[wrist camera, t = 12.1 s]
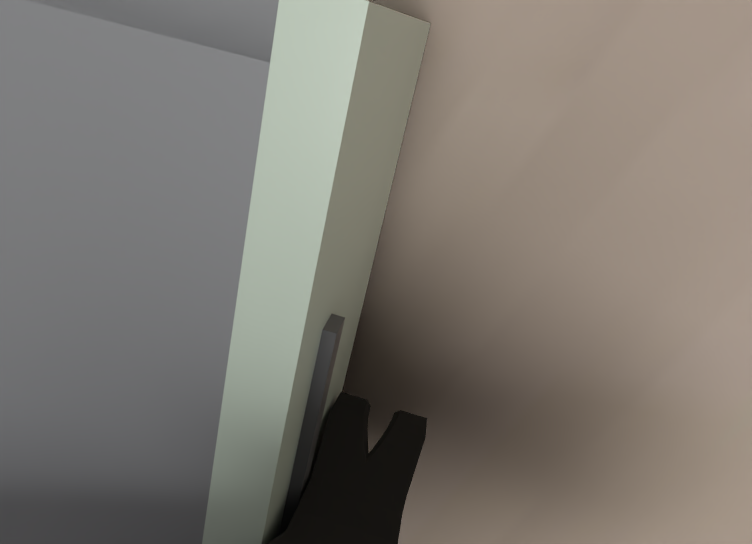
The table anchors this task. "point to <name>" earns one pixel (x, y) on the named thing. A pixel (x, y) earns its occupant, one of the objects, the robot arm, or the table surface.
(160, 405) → the grey drawer box
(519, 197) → the table surface
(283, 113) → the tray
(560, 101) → the table surface
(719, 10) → the table surface
